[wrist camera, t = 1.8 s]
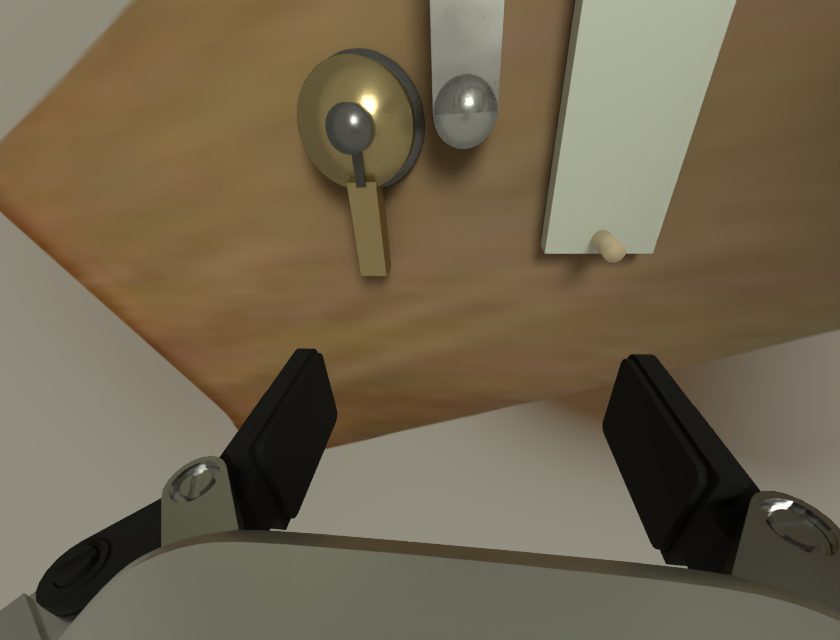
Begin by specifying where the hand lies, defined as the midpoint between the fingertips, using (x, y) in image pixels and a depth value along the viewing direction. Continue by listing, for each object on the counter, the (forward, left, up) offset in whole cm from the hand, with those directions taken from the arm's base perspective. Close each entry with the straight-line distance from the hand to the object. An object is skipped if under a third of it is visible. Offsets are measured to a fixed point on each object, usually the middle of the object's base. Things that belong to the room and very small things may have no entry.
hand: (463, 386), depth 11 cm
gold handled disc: (-3, -8, -20) cm, 21 cm away
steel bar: (-12, 0, -21) cm, 24 cm away
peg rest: (-7, +10, -21) cm, 24 cm away
